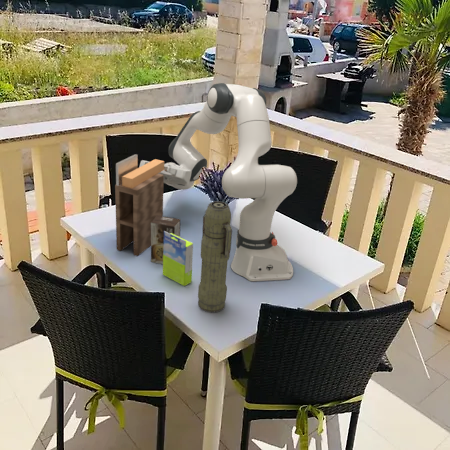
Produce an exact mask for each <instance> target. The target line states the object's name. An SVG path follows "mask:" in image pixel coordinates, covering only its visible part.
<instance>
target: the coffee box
mask: <svg viewBox="0 0 450 450" xmlns="http://www.w3.org/2000/svg"><path fill="white" fill-rule="evenodd" d="M164 231H166V232H168V233H172V234H174V235H176V236H178V237H181V219H180V218H174V217H170V216H169V217H168V216H164V215H163V216H158V215H157V216H156V217H155V219H154V220H153V221H152V222H151V246H150V262H151V263H155V264H160V265H163V246H164Z"/></svg>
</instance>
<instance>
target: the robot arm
mask: <svg viewBox="0 0 450 450" xmlns="http://www.w3.org/2000/svg"><path fill="white" fill-rule="evenodd" d="M232 117H235V118H236V129H237V138H238V139H237V141H238V148H237V149H238V152H237V155H236V157H235V160H234V161H233V162H232V164H231V165H230V166H229V167H228V168H227V169H226V170H225V171H224V173H223V175H222V179H221V186H222V189H223V191H224V193H225V194H226V196H228V197H230V198H235V199H242V200H244V199H254V200H253V201H251V202H250V203H249V204H247V205H245V206H244V207H243V208H242V210H241V211H240V213H239V223H238V224H239V225H238V230H237V232H236V236H235V237H236V238H235V240H236V241H235V245H236V248H235V253H234V256H233V259H232V261H231V262H230V268H231V270H232V271H233V272H234V273H235V274H237V275H239V276H241V277H244V278H245V279H246V280H247V281H249V282H266V281H268V282H269V281H281V280H284V281H285V280H291V279H292V278H293V276H294V268H293V265H292V262H291V261H290V260H289V259H288V255H287V253H286V251H285V249H284V248H283V247H281V246H280V245H279V244H278V240H277V239H276V235H275V234H274V232H273V231H271V228H272V222H273V217H274V215H275V212H276V210H277V209H278V207H279V206H280V204H281V203H282V202H283V201H284V200H285V199H286V198H287V197H288V196H289V197H290V195H292V194H293V193H294V191H295V190H296V189H297V188H296V187H297V184H298V177H297V173H296V171H295V170H294V169H293V167H291V166H288V165H281V164H259V157H261V156H264V155H265V154H266V153H267V152H269V151H270V149H271V148H272V145H273V142H272V133H271V126H270V125H271V124H270V119H269V112H268V109H267V97H266V94H265V93H264V92H263V90H260V89H258V88H256V87H253V88H252V87H250V86H245V85H240V84H233V83H225V82H218V83H214V84H212V85H211V87H209V89H208V92H207V97H206V101H205V104H204V105H203V107H202V110H198V111H194V112H193V113H192V114H191V115H190V117H189V118H188V119H187V120H186V122H185V123H184V124H183V126H182V127H181V129H180V131H179V133H178V134H177V135H176V137H175V138H174V139H173V140H172V141H171V142H170V144H169V146H168V155H169V157H170V158H172V159H173V160H174V161H175V162H176V163H177V164H176V163H175V162H172V161H171V162H166V163H164V170H163V171H161V172H160V173H158V174H162V175H164V182H163V184H165V185H168V186H171V187H173V188H175V189H177V190H180V191H181V190H182V191H184V190H188V189H191V188H192V187H193V186H194V184H195V182H196V181H197V180H199V179H200V178H199V175H200V173H201V172H202V168H203V167H205V168H206V169H207V168H208V160H207V158H206V157H205V156H204V155H203V154H202V153H201V152H200V151H199V150H198V149H197V148H196V147H195V146H194V144H192V142H191V138H192V137H193V135H194V134H195V132H197V130H198V131H200V132H203V133H204V134H208V135H216V134H220V133H222V132H223V131H225V129H226V128H227V126H228V124H229V122H230V120H231V118H232ZM149 162H150V161H148V160H143V159H142V160H140V163H139V167H141V166H143V165H145V164H147V163H149ZM139 167H138V168H139Z"/></svg>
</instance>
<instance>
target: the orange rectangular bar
mask: <svg viewBox="0 0 450 450" xmlns="http://www.w3.org/2000/svg"><path fill="white" fill-rule="evenodd" d="M148 162H149V163H147V164H145V165H143V166H141V167H138V168H137V169H136V170H134V171H132V172H130V173H128V174H126V175H124V176H122V186H125V187H129V188H134V187H135V186H137V185H139V184H141V183H142V182H144V181H146V180H148V179H149V178H151V177H153V176H155V175H156V174H158V173H160V172H161V171H163V170H164V164H165V161H164V160H160V159H156V158H155V159H153V160H151V161H148Z"/></svg>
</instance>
